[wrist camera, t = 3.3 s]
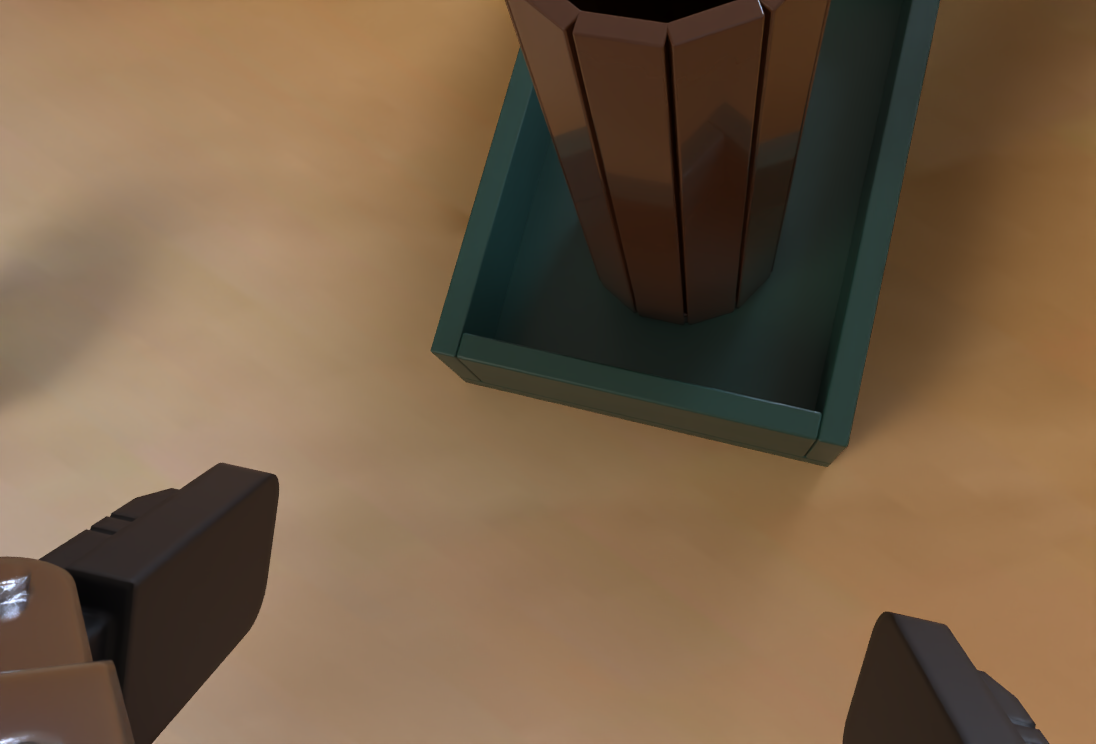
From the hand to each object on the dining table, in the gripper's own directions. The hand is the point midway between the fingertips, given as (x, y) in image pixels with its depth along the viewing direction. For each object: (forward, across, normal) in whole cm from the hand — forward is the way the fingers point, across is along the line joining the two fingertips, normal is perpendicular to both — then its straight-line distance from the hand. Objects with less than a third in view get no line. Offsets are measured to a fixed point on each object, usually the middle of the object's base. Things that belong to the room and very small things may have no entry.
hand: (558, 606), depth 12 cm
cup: (+20, -2, -4) cm, 20 cm away
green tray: (+22, -2, -6) cm, 23 cm away
